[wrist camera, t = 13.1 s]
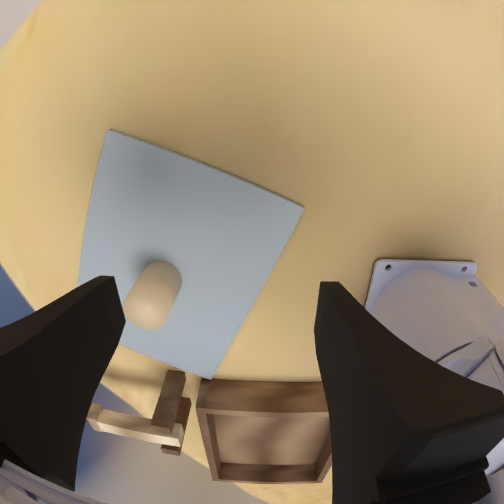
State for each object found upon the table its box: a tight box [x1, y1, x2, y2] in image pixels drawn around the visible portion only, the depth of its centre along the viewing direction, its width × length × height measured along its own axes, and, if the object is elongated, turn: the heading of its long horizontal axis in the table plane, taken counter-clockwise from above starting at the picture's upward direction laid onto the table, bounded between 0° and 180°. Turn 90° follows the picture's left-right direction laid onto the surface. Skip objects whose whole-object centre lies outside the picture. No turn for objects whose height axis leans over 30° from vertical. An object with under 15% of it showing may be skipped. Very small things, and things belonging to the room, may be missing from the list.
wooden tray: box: [150, 370, 332, 484], centre depth 28 cm, size 17×19×6 cm
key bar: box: [87, 403, 184, 447], centre depth 23 cm, size 9×2×2 cm, turn 89°
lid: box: [78, 129, 305, 380], centre depth 21 cm, size 14×18×5 cm
